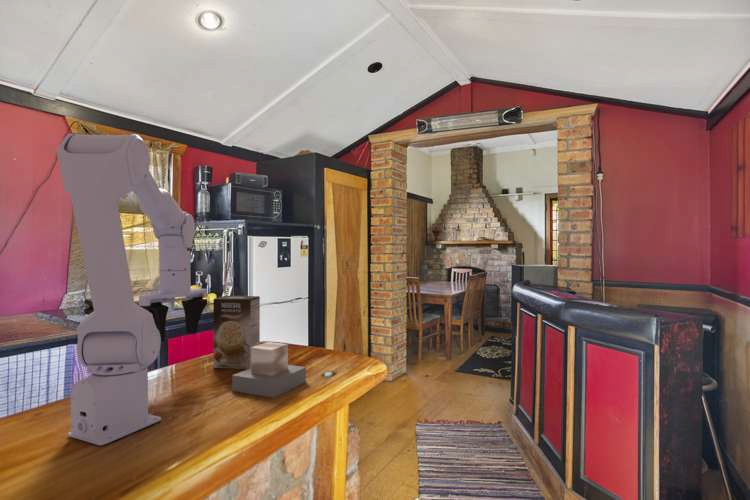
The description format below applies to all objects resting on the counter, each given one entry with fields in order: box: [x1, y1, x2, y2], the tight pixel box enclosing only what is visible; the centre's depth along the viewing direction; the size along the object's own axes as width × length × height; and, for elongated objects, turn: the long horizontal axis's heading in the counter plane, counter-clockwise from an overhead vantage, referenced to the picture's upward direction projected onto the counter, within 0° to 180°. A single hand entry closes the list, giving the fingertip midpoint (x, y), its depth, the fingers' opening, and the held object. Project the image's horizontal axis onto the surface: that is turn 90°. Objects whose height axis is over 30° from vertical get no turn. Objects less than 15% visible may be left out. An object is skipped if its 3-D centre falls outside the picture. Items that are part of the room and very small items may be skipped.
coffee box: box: [212, 295, 261, 370], centre depth 96 cm, size 9×6×16 cm
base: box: [231, 364, 307, 399], centre depth 81 cm, size 10×10×3 cm
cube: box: [251, 341, 289, 376], centre depth 81 cm, size 5×5×5 cm
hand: (175, 337), depth 83 cm, fingers open, 7 cm apart
